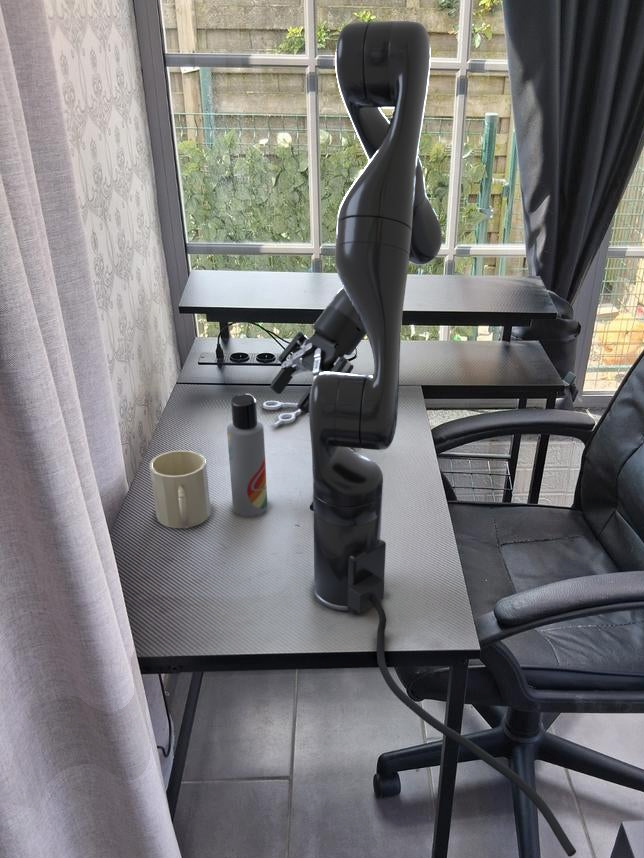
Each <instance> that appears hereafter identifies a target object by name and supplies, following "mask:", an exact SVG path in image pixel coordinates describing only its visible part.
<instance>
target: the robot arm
mask: <svg viewBox="0 0 644 858" xmlns="http://www.w3.org/2000/svg"><path fill="white" fill-rule="evenodd" d="M430 68H431V43H430V38H429V33H428V30H427V29H426V27H425V26H424V25H423V24H422V23H421V22H418V21H412V20H372V21H371V20H370V21H369V20H368V21H356V22H349V23H347V24H345V25H344V26H343V27H342V28H341V30H340V31H339V34H338V37H337V41H336V47H335V73H336V79H337V84H338V89H339V92H340V95H341V98H342V101H343V103H344V107H345V109H346V111H347V113H348V116H349V118H350V121H351V122H352V125H353V128H354V130H355V132H356V135H357V138H358V139H359V141H360V144H361V146H362V148H363V150H364V153H365V155H366V157H367V160H368V163H367V164H366V165H365V167H364V169H362V171H361V173H360V174H359V175H358V177H357V178H356V179H355V180H354V182H353V183H352V185H351V187H350V188H349V190H348V191H347V193H345V196H344V197H343V200H342V202H341V204H340V206H339V210H338V214H337V225H336V235H335V249H334V266H335V270H336V272H337V276H338V278H339V281H340V283H341V285H342V287H341V288H340V289H339V290H338V291H337V292H336V293H335V295H334V296H333V297H332V299H331V300H330V302H329V303H328V305H327V306H326V307H325V308H324V310H323V311H322V313H321V314H320V315H319V317H318V318H316V319H317V320H315V322H314V323H313V325H312V330H313V331H314V332H313V334H312V336H310V337H309V338H308V336H306V335H305V333H303V332H302V331H299V332H297V333H296V334H295V335H294V337H293V338H292V340H291V341H290V342H289V343H288V344H287V346H286V347H285V348H284V349H283V351H282V352H281V353H280V355H279V356H278V358H277V360H278V362H279V363H280V364H281V365H280V366H281V369H280V370H279V371H278V373H277V374H276V376H275V377H274V378H273V380H272V381H271V383H270V385H269V388H270V389H271V390H272V391H273V392H275V393H276V394H277V395H281V394H282V393H283V391H284V390H285V389H286V387H287V386H288V384H289V383H290V382H291V381H292V379H293V377H294V375H296V374H298V373H300V372H306V371H310V372H312V375H313V379H312V383H311V386H309V387H308V389H307V391H306V392H305V393H304V395H303V396H302V398H301V399H300V400H299V402H297V403H298V404H297V407H298V410H299V409H300V410H302V412H303V413H304V414H308V421H309V431H310V433H309V435H310V445H311V447H310V448H311V464H312V465H311V467H312V469H311V470H312V489H313V490H312V497H313V500H312V502H313V511H312V512H313V514H312V515H313V570H314V571H313V579H314V580H313V581H314V582H313V595H314V597H315V599H316V600H317V601H318V602H319V603H320V604H321V605H322V606H324V607H326V608H329V609H331V610H335V611H340V612H348V613H350V614H351V615H356V614H357V613H359V614H361V613H363V612H364V611H366V610H367V609H369V608H370V607H372V606H373V607H374V609H375V611H376V613H377V616H378V625H377V629H376V630H377V632H376V662H377V666H378V669H379V671H380V673H381V675H382V678H383V680H384V682H385V683H386V685H387V687H388V688H389V690H390V691H391V692H392V693H393V694H394V696H396V698H397V699H398V700H400V701H401V702H402V703H403V704H404V705H405V706H406V707H407V708H408V709H409V710H411V711H412V712H413V713H414V714H415V715H417V716H418V717H419V718H420V719H421V720H423V721H424V722H425V723H427V724H428V725H429V726H430V727H432V728H433V729H435V730H436V731H438V732H439V733H440V734H442V735H444V736H445V737H446V738H449V739H450V740H452V741H453V742H455V743H456V744H458V745H460V746H461V747H463V748H465V749H466V750H467V751H469V752H470V753H471V754H473V755H475V756H476V757H477V758H478V759H480V760H481V761H483V762H484V763H485V764H487V765H488V766H490V767H491V768H492V769H494V770H496V771H497V772H498V773H500V774H501V775H502V776H504V777H505V778H506V779H508V780H509V781H511V783H512V784H514V785H515V787H517V788H518V789H519V790H520V791H522V793H523V794H524V795H525V796H526V797H527V798H528V799H529V800H530V801H531V802H532V803H533V805H534V806H535V807H536V808H537V809H538V811H539V812H540V813H541V815H542V816H543V818H544V819H545V821H546V822H547V824H548V826H549V827H550V829H551V831H552V833H553V834H554V836H555V838H556V840H557V841H558V843H559V844H560V846H561V847H562V849H563V851H564V852H565V854H566V855H567V857H568V858H571V857H573V856H574V855H576V853H577V849H576V848H575V846H574V845H573V844H572V842H571V841H570V839H569V837H568V836H567V834H566V832H565V831H564V829H563V827H562V826H561V824H560V822H559V821H558V819H557V818H556V816H555V815H554V812H553V811H552V810H551V809H550V807H549V806H548V804H547V803H546V802H545V801H544V799H543V798H542V797H541V796H540V795H539V794H538V793H537V791H536V790H534V788H533V787H532V786H531V785H530V784H529V783H528V782H527V781H526V780H524V778H522V777H521V776H520V775H518V773H516V772H515V771H513V770H512V769H511V768H510V767H508V766H507V765H506V764H504V763H502V761H500V760H499V759H497V758H496V757H494V756H493V755H491V754H490V753H489V752H487V751H486V750H484V749H483V748H482V747H480V746H479V745H477V744H475V743H474V742H473V741H471V740H470V739H469V738H467V737H465V736H464V735H462V734H461V733H459V732H458V731H456V730H454V729H452V728H451V727H449V726H447V725H446V724H444V723H443V722H441V721H440V720H438V719H437V718H435V717H434V716H433V715H432V714H430V713H429V712H428V711H427V710H426V709H424V708H423V707H422V706H420V705H419V704H418V703H417V702H415V701H414V700H413V699H412V698H411V697H410V696H409V695H408V694H406V692H405V691H403V690H402V689H401V687H400V686H399V685H398V684H397V683H396V681H395V680H394V678H393V677H392V675H391V673H390V671H389V669H388V665H387V663H386V657H385V638H386V635H385V632H386V628H387V615H386V611H385V609H384V607H383V604H382V603H381V602H380V601H381V600H383V599H384V598H385V569H386V554H387V553H386V552H387V543H386V541H385V540H383V539H381V537H382V536H381V533H382V513H383V512H382V511H383V489H384V475H383V471H382V469H381V467H380V466H379V465H378V464H377V462H375V461H374V460H372V459H371V458H369V457H367V456H365V455H362V454H360V453H358V452H356V451H354V450H351V449H350V448H354V449H360V450H361V449H363V450H372V451H385V450H387V449H389V448H390V446H391V445H392V443H393V441H394V438H395V435H396V429H397V424H398V416H399V415H398V414H399V398H400V397H399V395H400V371H401V369H400V365H401V344H402V342H401V339H402V324H403V313H404V304H405V296H406V287H407V278H408V273H409V264H410V263H411V264H413V265H416V266H425V265H427V264H429V263H432V262H433V260H434V259H435V258H436V257H437V256H438V255H439V252H440V250H441V248H442V243H443V231H442V226H441V223H440V220H439V218H438V216H437V213H436V212H435V209H434V207H433V206H432V203H431V201H430V200H429V197H428V196H427V191H426V184H425V177H424V170H423V166H422V163H421V160H420V158H419V156H418V154H419V146H420V139H421V133H422V127H423V120H424V113H425V107H426V101H427V95H428V86H429V80H430V79H429V78H430ZM381 109H393V111H392V115H391V118H390V121H389V120H388V118H387V117H386V116H385V114H384V113H383V112H382V110H381ZM365 336H367V339H368V342H369V345H370V348H371V353H372V357H373V365H374V366H373V367H374V370H373V374H367V373H366V374H365V373H353V372H352V371H353V370H354V367H355V366H354V365H353V364H352V363H351V362H350V360H348V359H347V358H346V357H345V356H351V355H352V354H353V353H354V351H355V350H356V349H357V347H358V346H359V345H360V343H361V342H362V341H363V339H364V338H365ZM291 353H292V354H291ZM290 354H291V357H290V358H288V357H289V356H290ZM297 407H296V408H297Z"/></svg>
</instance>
